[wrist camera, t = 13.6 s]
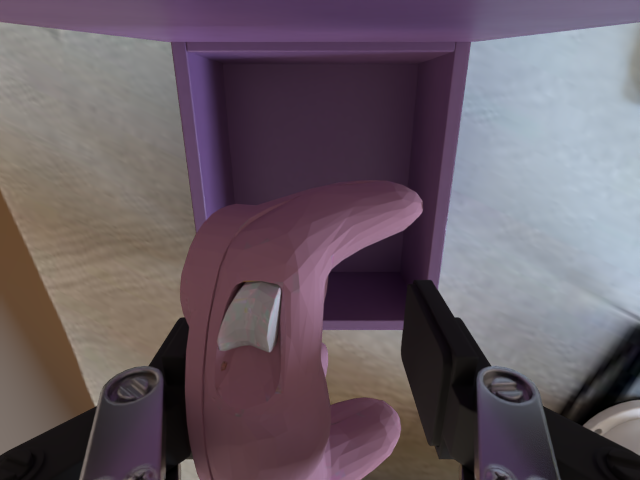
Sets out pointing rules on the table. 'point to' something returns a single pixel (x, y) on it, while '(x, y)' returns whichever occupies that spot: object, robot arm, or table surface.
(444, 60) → the box
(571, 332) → the table surface
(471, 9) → the lid
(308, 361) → the video game controller
